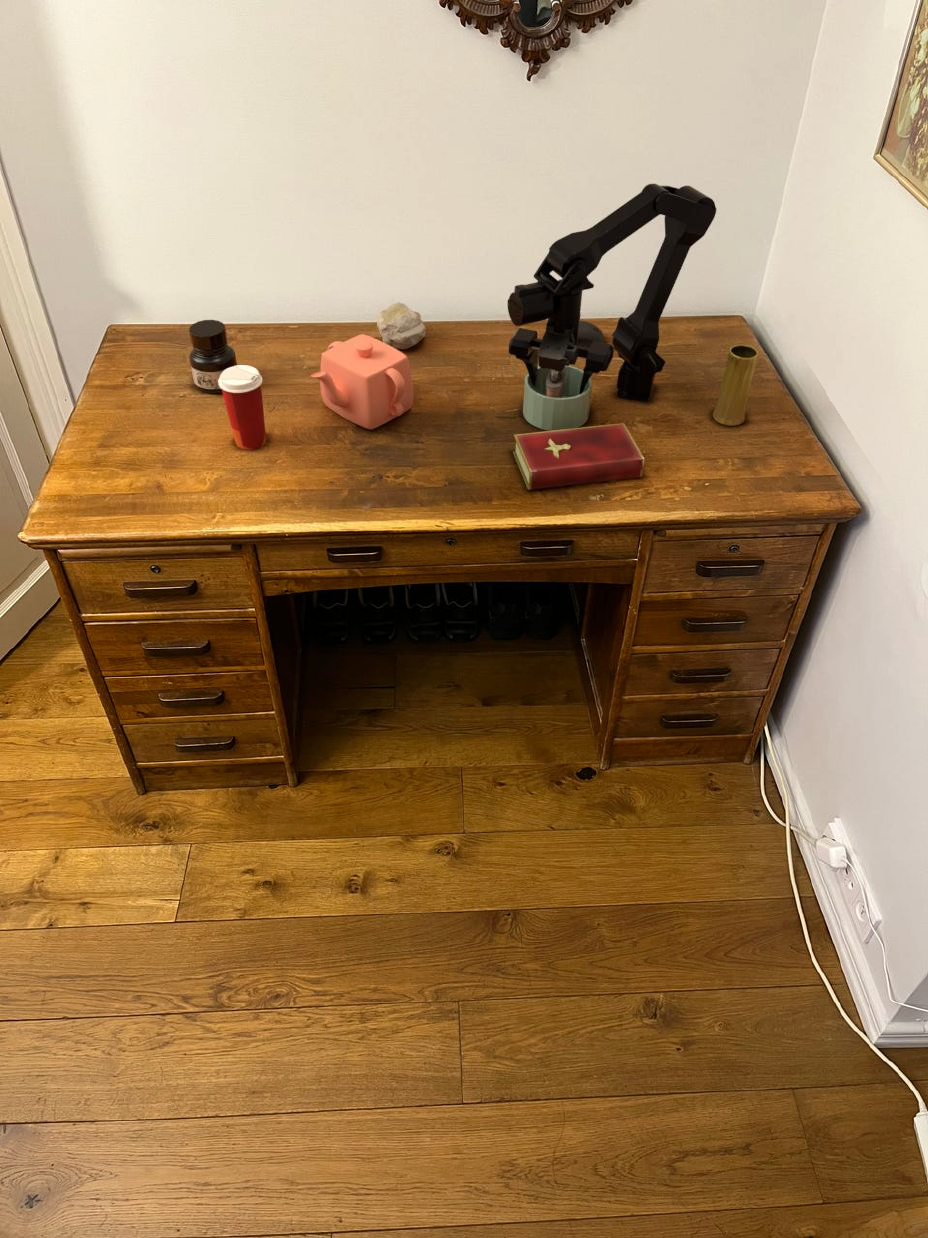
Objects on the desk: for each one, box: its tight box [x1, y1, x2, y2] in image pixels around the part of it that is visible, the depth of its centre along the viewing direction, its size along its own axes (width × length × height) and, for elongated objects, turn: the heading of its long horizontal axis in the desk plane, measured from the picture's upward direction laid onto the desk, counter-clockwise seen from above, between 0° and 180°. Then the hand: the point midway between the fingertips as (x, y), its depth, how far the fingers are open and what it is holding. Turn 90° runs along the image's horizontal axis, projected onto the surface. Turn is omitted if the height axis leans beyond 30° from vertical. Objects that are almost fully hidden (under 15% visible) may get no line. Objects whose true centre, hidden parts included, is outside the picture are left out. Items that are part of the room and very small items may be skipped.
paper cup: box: [218, 364, 267, 451], centre depth 178 cm, size 8×8×14 cm
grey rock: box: [376, 301, 427, 350], centre depth 207 cm, size 12×8×10 cm
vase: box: [712, 344, 759, 427], centre depth 185 cm, size 6×6×14 cm
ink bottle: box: [188, 319, 238, 394], centre depth 193 cm, size 10×9×12 cm
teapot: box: [310, 333, 415, 430], centre depth 185 cm, size 20×19×14 cm
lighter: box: [546, 368, 566, 398], centre depth 187 cm, size 8×3×10 cm, turn 166°
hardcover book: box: [512, 422, 646, 491], centre depth 177 cm, size 12×21×4 cm, turn 102°
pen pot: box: [522, 365, 593, 431], centre depth 189 cm, size 13×13×7 cm
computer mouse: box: [577, 320, 605, 348], centre depth 209 cm, size 6×11×4 cm, turn 89°
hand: (557, 389), depth 187 cm, fingers open, 9 cm apart
